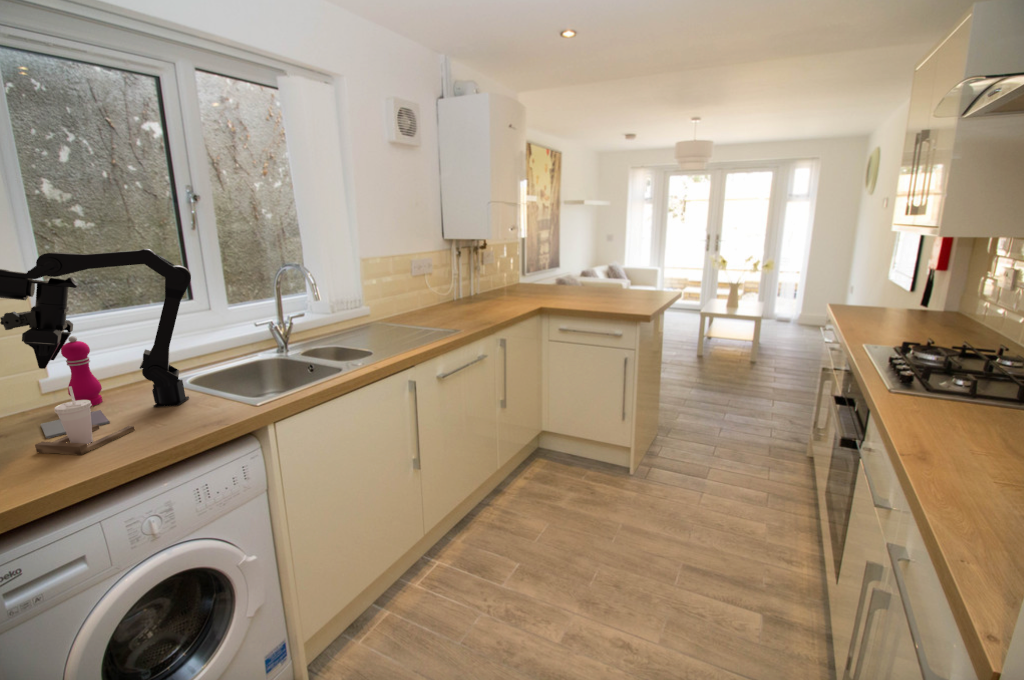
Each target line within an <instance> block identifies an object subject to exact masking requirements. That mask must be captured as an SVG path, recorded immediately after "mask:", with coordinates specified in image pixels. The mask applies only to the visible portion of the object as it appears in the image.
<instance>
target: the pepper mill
mask: <svg viewBox="0 0 1024 680" xmlns="http://www.w3.org/2000/svg"><path fill="white" fill-rule="evenodd" d="M90 352H91V349H90V346H89V344H87V343H86V342H84V341H78V338H77V337H76V336H74V335H72V336H71V335H70V336H69V337H68V342H67V343H66V342H65V344H64V345H63V347H62V348H61V350H60V353H61V355H62V357H63V358H64V359H66V360H65V362H66V366H68V367H69V369H70V373H71V374H70V381H69V382H68V386H67V392H68V393H67V394H68V395H69V397H71V395H70V391H69V387H70V386H72V390H73V394H74V398H75V401H77V400H90V401H91V404H92V405H91V406H90V408H91V407H94V405H95V406H97V405H100V404H101V403H103V398H102V397H103V396H102V395H101V394H100V392H102V390H103V389H102V388H103V387H102V384H101V382H100V381H99V380H98V379H97V377H95V376H94V374H93V373H92V371H91V369H90V363H91V360H90V356H88V355H89V354H90Z"/></svg>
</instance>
